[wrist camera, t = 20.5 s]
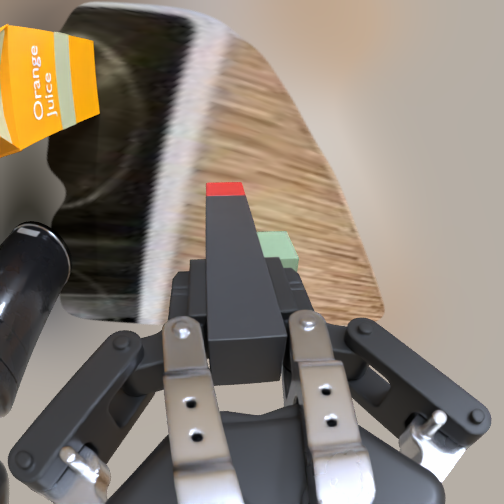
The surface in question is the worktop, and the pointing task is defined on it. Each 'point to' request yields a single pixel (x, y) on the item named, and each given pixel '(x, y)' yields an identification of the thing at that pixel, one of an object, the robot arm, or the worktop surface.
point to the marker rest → (279, 248)
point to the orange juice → (43, 85)
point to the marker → (239, 294)
